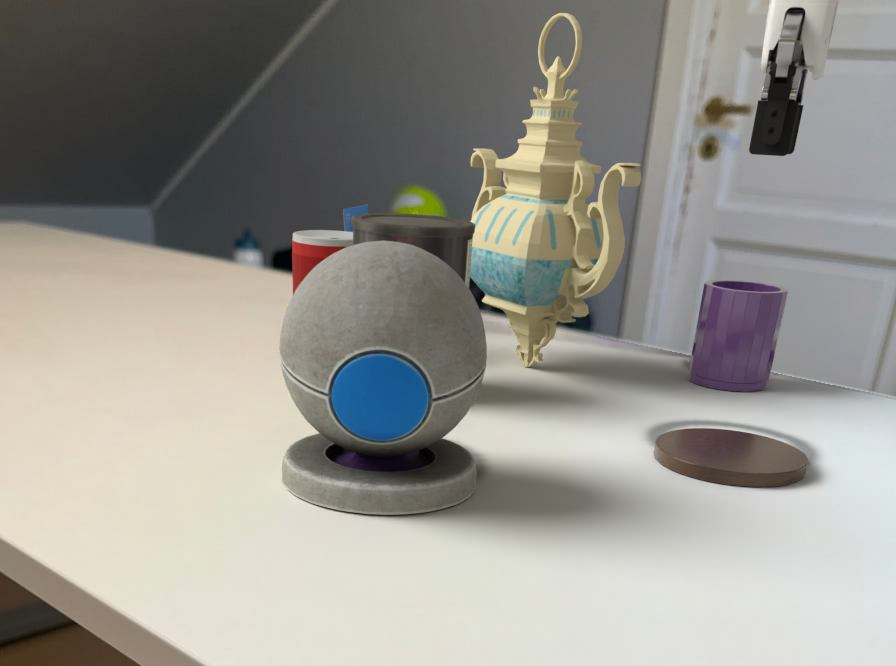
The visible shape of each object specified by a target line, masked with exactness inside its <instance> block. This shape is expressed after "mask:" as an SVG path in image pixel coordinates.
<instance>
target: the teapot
mask: <svg viewBox="0 0 896 666" xmlns="http://www.w3.org/2000/svg"><path fill="white" fill-rule="evenodd" d="M563 17H564V18H566V19H567V20H568V21H569V22H570V24H571V26H572V27H573V31H574V35H575V48H574V52H573V56H572V59H571V61H570V64H569V66H568V67H567V68H565V66H564V64H563V61H562V58H561V56H556V58H555V59H554V61H553V63H552V65H550V67H549V68H548V66H547V64H546V59H545V46H546V41H547V37H548V35H549V32H550V30H551V28H552V27H553V26H554V25H555V23H556V22H557V21H558V20H560V19H561V18H563ZM582 32H583V31H582V28H581V25H580V23H579V21H578V19H576V17H575V16H574V15H572V14H570V13H568V12H558V13H557V14H555V15H553V16H551V17H550V19H548V21H547V22H546V23H545V25H544V27H543V29H542V31H541V34H540V37H539V40H538V48H537V55H538V65H539V67H540V70H541V72H542V74H543V75H544V77H545V78H547V90H546V91H545V89H544V88H540V89H539V87H537V86H533V89H532V91H533V92H534V94H535V95H536V99H529V102H530V107H531V108H532V115H531V117H530V118H528V119H523V120H522V124H524V125H525V128H526V135H525V137H523V138H518V139H517V144H518V149H517V150H516V152H515V153H513V154H512V155H510V156H508V157H505V158H499V156H498V155H497V153H496V152H495V150H493V148H473V149H472V150H473V151H474V152H473V153H472V154H471V157H470V167H471V168H477V169H481V168H483V181H482V184H481V188H480V191H479V193H478V196H477V198H476V201H475V204H474V207H473V209H472V212H471V220H469V221H470V222H472V223H474V224H475V232H474V234H473V241H472V255H471V268H470V280H472V281H473V283H475V284H476V286H477V287H478V288H479V289H480V290H481V291H482V292H483V294H484V297H483V298H482V299H481V302H482V303H483V304H486V305H488V306H491V307H493V308H497V309H500V310H502V311H503V313H505V315H506V317H507V318H508V320H509V327H510V328H511V331H512V333H513V335H514V337H515V339H516V340H517V342H518V343H519V344H518V345H516V348H515V351H514V354H515V355H517V356H518V357H519V359H520V361H521V363H522V364H523V366H524V367H525V368H530V367H533V366H535V365H536V364H537V363H542V362H543V361H544V359H543V357H544V353H542V352H541V351H540V350H541V349H542V348H544V347H546V346H547V345H548V344H549V343H550V342H551V341H552V340H553V339H554V338H555V337H556V333H557V323H558V322H559V323H566V324H567V323H575V322H577V320H576V318H583V317H587V316H588V315H590V309H589V305H588V304H587V302H585V301H586V300H588V299H589V298H592V297H594V296H596V295H599V294H600V293H602V292H603V291H604V290H605V289H607V288H608V286H609V285H610V283H611V282H612V281H613V280H614V278H615V276H616V273H617V272H618V269H619V267H620V265H621V263H622V260H623V257H624V256H623V255H624V253H625V245H626V236H625V231H624V230H625V229H624V224H623V220H622V217H621V216H622V215H621V212H620V207H619V206H620V205H619V191H620V186H621V187H628V188H630V187H631V188H632V187H640V186H641V182H642V171H641V170H640V168H638V167H641V166H642V165H641V164H640V163H637V162H636V163H635V162H617V163H615V164H614V165H612V166H611V167H610V168H609V169H608V170H607V171H606V173H605V174H604V176H603V178H602V180H601V182H600V185H599V190H598V196H597V201H594V202H590V203H589V204H588V203H587V201H586V199H588V198H589V197H590V196H591V195H592V193H593V191H594V189H595V183H596V182H595V176H596V175H597V176H598V175H599V174H601V173H602V166H601V165H597V164H593V163H591V162H589V161H587V160H586V158H584V157H583V156H582V152H581V148H582V147H583V146H584V145H583V144H584V143H583V142H582V141H579V140H578V139H576V134H577V133H576V132H577V130H578V129H579V128H580V127H581V126H582V125H583V123H582V122H579V121H576V120H575V118H574V113H575V110H577V107H578V105H579V103H580V101H576V100H573V99H574V97H575V96H576V95H577V94H578V93H579V89H576V88H575V89H570V88H569V89H567V90H566V91H565V93H564V86H565V82H566V79H567V78H568V77H570V76H571V75H572V73H573V72H574V70H575V69H576V67H577V65H578V63H579V61H580V59H581V53H582V50H583V33H582ZM502 172H503V173H502ZM502 180H503V184H504V186H505V187H504V186H501V184H502V183H501V182H502Z"/></svg>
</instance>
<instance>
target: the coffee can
mask: <svg viewBox="0 0 896 666" xmlns="http://www.w3.org/2000/svg"><path fill="white" fill-rule="evenodd" d="M470 221H471V220H467V219H463V218H457V217H448V216H441V215H431V214H430V215H429V214H418V213H397V212H395V213H394V212H370V213H369V212H368V214H358V215H355V216H353V217H352V218H351V222H352V227H353V245H356V244H360V243H364V242H371V241H393V242H401V243H405V244H410V245H414V246H416V247H419V248H421V249H423V250H425V251H427V252H429V253H431V254H433V255H435V256H437V257H438V258H440V259H441V260H442V261H444V262H445V263H446V264H448V265H449V266H450V267H451V268H452V269H453V270H454V271H455V272H456V273H457V274H458V275H459V276H460V277H461V279H462V280H463V281H464V282H465V284H466V285H467V286H468V288H469V289H470V281H471V277H470V268H471V255H472V241H473V234H474V232H475V224H474V223H472V222H470Z"/></svg>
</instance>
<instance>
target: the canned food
mask: <svg viewBox="0 0 896 666" xmlns="http://www.w3.org/2000/svg"><path fill="white" fill-rule="evenodd" d="M291 243H292V244H291V247H292V248H291V249H292V250H291V262H292V263H291V264H292V265H291V266H292V270H291V271H292V296H293V295H294V293H295V291H296V289H297V288H298V286H299V285H300V283H301V282H302V281H303V280H304V278H305V277H306V276H307V275H308V273H309V272H310V271H311V270H312V269H313V268H314V267H315V266H316V265H318V264H319V263H320V262H321V261H323V260H324V259H326V258H327V257H329V256H330V255H332V254H333V253H335V252H337V251H340V250H342V249H344V248H346V247H349V246H352V245H353V232H348V231H344V230H333V229H331V230H330V229H308V230H298V231H294V232H293V233H292V238H291Z"/></svg>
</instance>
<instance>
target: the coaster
mask: <svg viewBox="0 0 896 666" xmlns="http://www.w3.org/2000/svg"><path fill="white" fill-rule="evenodd" d="M653 456H654V459H655V461H656V462H658V463H659V464H660V465H662V466H664V467H665V468H667V469H669V470H671V471H673V472H675V473H678V474H680V475H682V476H683V475H684V476H685V477H689V478H692V479H697V480H701V481H705V482H710V483H715V484H721V485H728V486H737V487H749V488H771V487H772V488H773V487H782V486H786V485H787V486H788V485H792V484H795V483H797V482H799V481H801V480H803V478H804V477H805V476H806V473H807V470H808V465H809V458H808V456H807V455H806V453H805V452H803V451H802V450H800V449H799V448H797V447H795V446H794V445H791V444H789V443H787V442H784V441H781V440H778V439H775V438H773V437H769V436H765V435H761V434H756V433H751V432H746V431H741V430H732V429H725V428H711V427H710V428H709V427H708V428H707V427H693V428H690V427H689V428H679V429H674V430H670V431H669V430H668V431H667V432H664V433H661V434H659V436H657V437H656V439H655V443H654V448H653Z"/></svg>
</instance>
